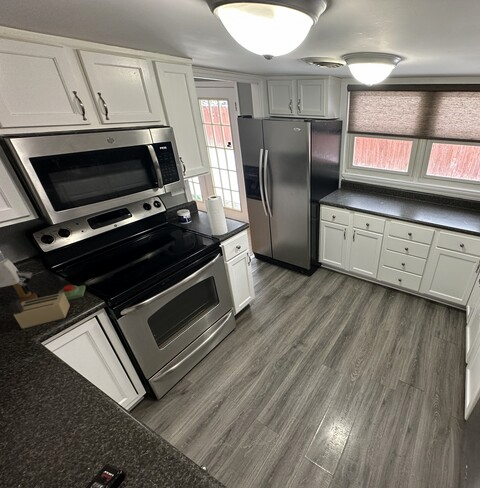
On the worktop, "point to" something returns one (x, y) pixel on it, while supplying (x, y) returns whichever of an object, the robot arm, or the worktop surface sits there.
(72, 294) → the panel
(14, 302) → the slider
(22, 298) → the wooden pepper mill
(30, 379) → the worktop surface
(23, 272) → the robot arm
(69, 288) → the button
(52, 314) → the toaster
